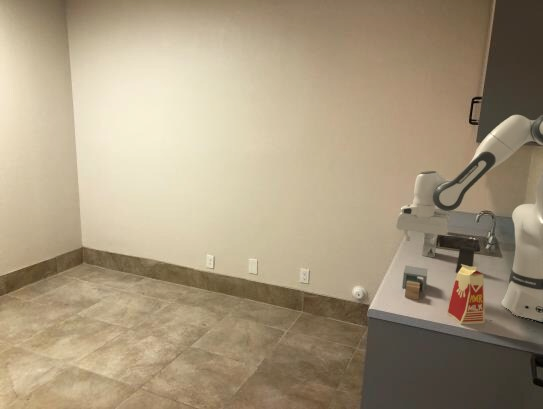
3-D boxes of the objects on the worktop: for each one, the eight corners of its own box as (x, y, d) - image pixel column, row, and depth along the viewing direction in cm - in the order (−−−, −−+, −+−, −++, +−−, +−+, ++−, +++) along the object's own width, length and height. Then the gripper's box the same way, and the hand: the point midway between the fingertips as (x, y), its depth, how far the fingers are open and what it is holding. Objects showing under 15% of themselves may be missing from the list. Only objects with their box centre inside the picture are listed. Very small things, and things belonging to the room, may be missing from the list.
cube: (405, 292, 159) (406, 280, 158) (418, 294, 157) (420, 283, 156) (404, 297, 155) (405, 285, 154) (418, 299, 153) (419, 287, 152)
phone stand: (469, 275, 179) (473, 250, 176) (455, 272, 182) (458, 247, 180) (472, 269, 186) (476, 245, 184) (458, 266, 190) (462, 243, 187)
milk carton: (484, 323, 136) (493, 268, 132) (461, 325, 134) (469, 270, 130) (466, 310, 145) (474, 259, 141) (444, 312, 143) (451, 260, 139)
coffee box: (422, 250, 212) (425, 221, 208) (434, 252, 210) (438, 223, 206) (421, 255, 203) (425, 225, 200) (434, 257, 201) (438, 227, 198)
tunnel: (403, 280, 171) (405, 265, 170) (425, 283, 168) (427, 268, 166) (402, 287, 163) (403, 272, 162) (425, 292, 160) (427, 276, 158)
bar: (407, 276, 176) (408, 268, 175) (416, 278, 174) (417, 269, 174) (405, 292, 159) (406, 283, 158) (415, 294, 158) (416, 285, 157)
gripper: (450, 211, 161) (446, 243, 164) (398, 206, 169) (395, 236, 172) (450, 214, 155) (446, 248, 158) (397, 208, 163) (394, 240, 166)
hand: (419, 242), depth 165 cm, fingers open, 8 cm apart
